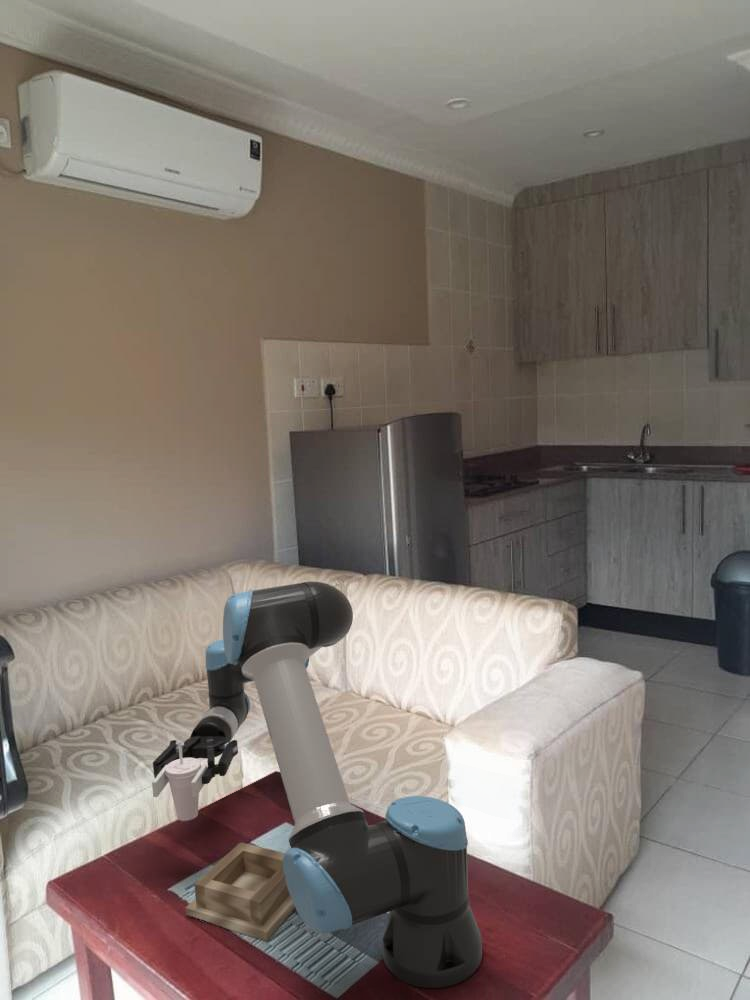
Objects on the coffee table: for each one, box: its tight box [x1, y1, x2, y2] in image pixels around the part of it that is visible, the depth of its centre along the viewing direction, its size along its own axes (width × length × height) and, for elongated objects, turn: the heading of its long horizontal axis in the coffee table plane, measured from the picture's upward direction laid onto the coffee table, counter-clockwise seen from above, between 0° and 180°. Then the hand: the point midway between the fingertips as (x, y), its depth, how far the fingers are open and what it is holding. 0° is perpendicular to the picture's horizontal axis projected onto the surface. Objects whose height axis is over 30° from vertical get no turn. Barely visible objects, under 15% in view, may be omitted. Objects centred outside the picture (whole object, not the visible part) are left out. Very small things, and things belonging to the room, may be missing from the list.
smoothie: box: [165, 740, 202, 822], centre depth 141 cm, size 6×6×14 cm
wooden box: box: [185, 841, 296, 942], centre depth 132 cm, size 16×15×6 cm
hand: (174, 789), depth 136 cm, fingers closed on smoothie, 6 cm apart
